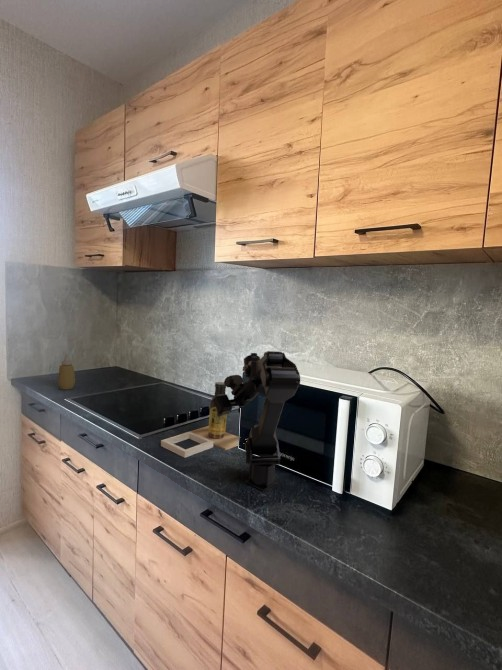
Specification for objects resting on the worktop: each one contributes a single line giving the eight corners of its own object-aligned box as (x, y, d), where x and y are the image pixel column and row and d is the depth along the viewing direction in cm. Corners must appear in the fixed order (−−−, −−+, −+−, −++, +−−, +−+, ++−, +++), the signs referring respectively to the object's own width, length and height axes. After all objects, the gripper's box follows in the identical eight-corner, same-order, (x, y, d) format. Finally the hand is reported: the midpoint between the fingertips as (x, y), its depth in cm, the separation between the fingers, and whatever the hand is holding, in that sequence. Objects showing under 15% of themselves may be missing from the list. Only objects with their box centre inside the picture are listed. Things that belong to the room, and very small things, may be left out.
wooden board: (247, 441, 128) (247, 440, 128) (225, 450, 120) (226, 448, 120) (208, 427, 141) (208, 425, 141) (187, 433, 133) (187, 432, 133)
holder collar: (213, 447, 122) (213, 441, 122) (184, 457, 113) (184, 451, 112) (189, 436, 130) (189, 431, 130) (160, 446, 120) (161, 440, 120)
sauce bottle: (209, 440, 126) (211, 385, 125) (206, 433, 132) (209, 380, 131) (227, 439, 128) (230, 384, 126) (224, 432, 134) (226, 380, 132)
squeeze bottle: (76, 386, 191) (76, 353, 189) (73, 390, 183) (74, 355, 182) (59, 386, 188) (59, 352, 187) (56, 390, 181) (56, 355, 179)
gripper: (261, 366, 125) (240, 390, 134) (217, 370, 113) (197, 397, 122) (275, 393, 120) (252, 417, 129) (231, 401, 108) (209, 426, 117)
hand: (228, 413), depth 124 cm, fingers open, 9 cm apart
